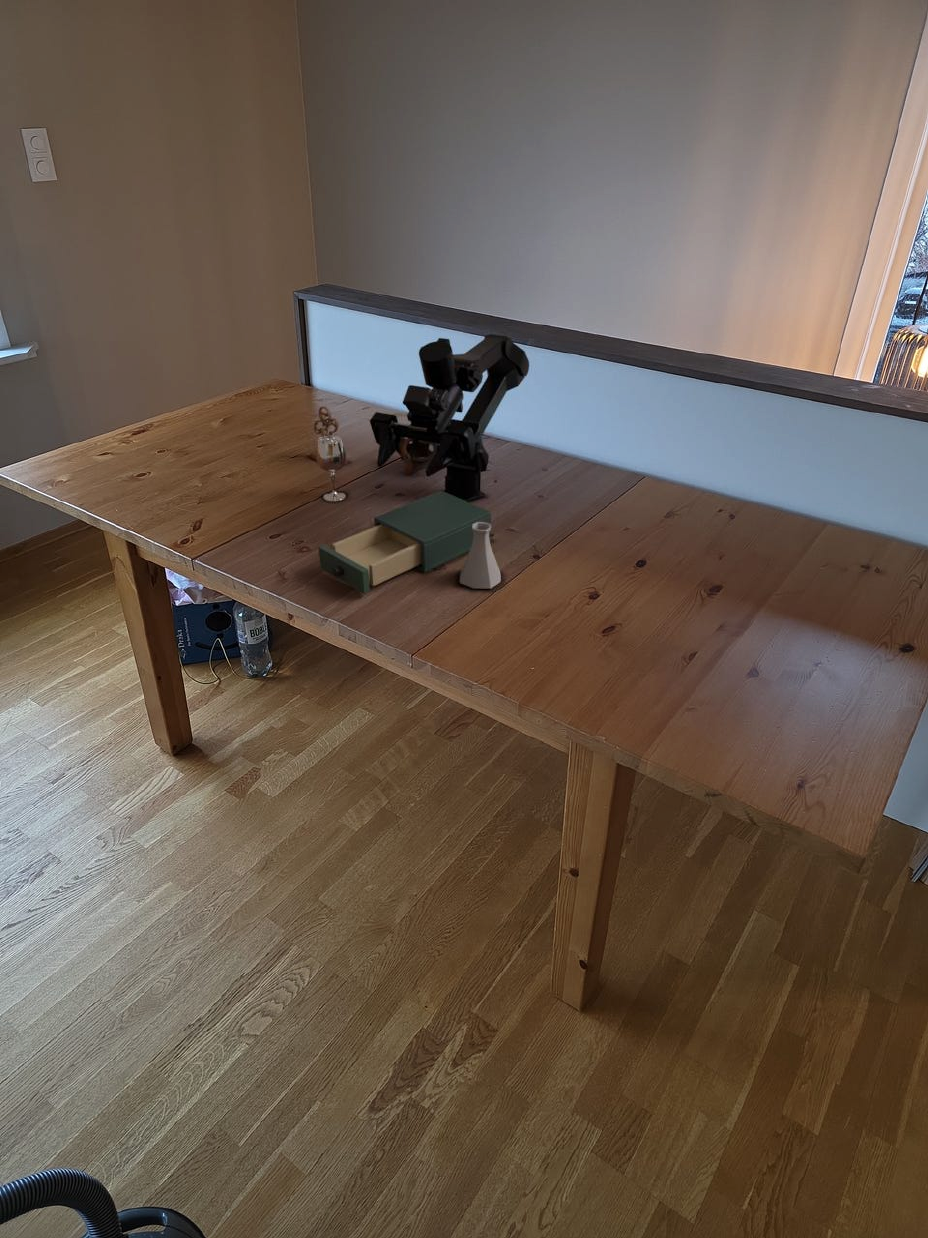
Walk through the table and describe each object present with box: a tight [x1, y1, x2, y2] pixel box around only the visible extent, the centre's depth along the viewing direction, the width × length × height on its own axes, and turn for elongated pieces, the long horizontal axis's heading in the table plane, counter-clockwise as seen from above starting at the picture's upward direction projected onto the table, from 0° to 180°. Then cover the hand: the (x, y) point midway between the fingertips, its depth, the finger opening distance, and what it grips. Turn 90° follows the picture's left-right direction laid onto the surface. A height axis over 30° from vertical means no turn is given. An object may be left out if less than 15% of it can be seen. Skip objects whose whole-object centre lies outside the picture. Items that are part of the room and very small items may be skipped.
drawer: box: [317, 524, 422, 595], centre depth 135 cm, size 17×12×4 cm
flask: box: [459, 522, 502, 590], centre depth 132 cm, size 7×7×10 cm
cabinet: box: [373, 490, 492, 573], centre depth 144 cm, size 16×13×6 cm
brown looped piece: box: [309, 406, 349, 465], centre depth 175 cm, size 9×4×12 cm, turn 47°
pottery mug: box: [395, 437, 437, 475], centre depth 174 cm, size 12×10×8 cm
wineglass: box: [315, 435, 347, 502], centre depth 158 cm, size 6×6×12 cm
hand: (402, 469), depth 135 cm, fingers open, 9 cm apart
